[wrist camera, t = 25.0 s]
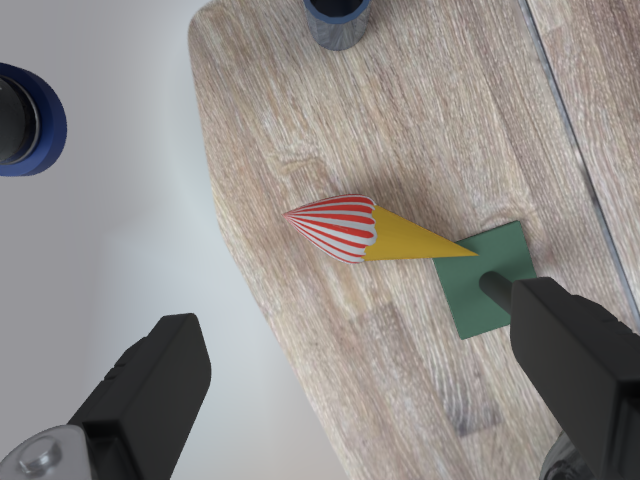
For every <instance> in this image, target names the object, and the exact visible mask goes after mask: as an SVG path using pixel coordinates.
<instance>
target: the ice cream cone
mask: <svg viewBox="0 0 640 480" xmlns="http://www.w3.org/2000/svg"><path fill="white" fill-rule="evenodd" d="M282 216H283V217H284V218H285V219H286V220H287V221H288V222H289V223H290V224H291V225H292V226H293V227H294V228H295V229H296V230H297V231H298V232H299V233H301V234H302V235H303V236H304V237H305V238H307V239H308V240H309V241H310V242H311V243H313V244H314V245H315V246H317V247H318V248H319V249H321V250H322V251H324V252H325V253H326V254H328V255H329V256H331V257H333V258H335V259H337V260H339V261H341V262H344V263H347V264H358V263H361V262H363V261H373V260H394V259H415V258H436V257H458V256H479V255H478V254H476V253H474V252H472V251H470V250H468V249H466V248H464V247H461V246H459V245H457V244H455V243H453V242H451V241H449V240H447V239H445V238H443V237H441V236H439V235H437V234H435V233H433V232H431V231H429V230H427V229H425V228H423V227H421V226H419V225H417V224H415V223H413V222H410V221H408V220H406V219H404V218H402V217H400V216H398V215H396V214H394V213H392V212H390V211H388V210H386V209H384V208H382V207H380V206H378V205H376V203H375V202H374V201H373V200H372V199H371V198H369V197H367V196H364V195H359V194H348V195H340V196H335V197H331V198H327V199H323V200H319V201H316V202H313V203H309V204H306V205H303V206H301V207H299V208H296V209H294V210H291V211H289V212H287V213H284V214H282Z"/></svg>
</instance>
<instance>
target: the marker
mask: <svg viewBox="0 0 640 480" xmlns="http://www.w3.org/2000/svg"><path fill="white" fill-rule="evenodd" d="M512 285H513V283H512V282H511V281H509V280H508V279H506V278H505V277H503V276H502V275H500V274H499V273H497V272H494V271H490V272H486V273H484V274H483V275H482V276H481V278H480V280H479V287H480V289H481V291H483V292H484V293H485V294H486V295H487V296H488V297H489V298H491V299H492V300H493V301H494V302H495V303H496V304H498V305H499V306H500V307H501V308H502V309H503V310H505V311H506V312H507V313H508V314H509V315H510V316H511V293H512Z"/></svg>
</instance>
